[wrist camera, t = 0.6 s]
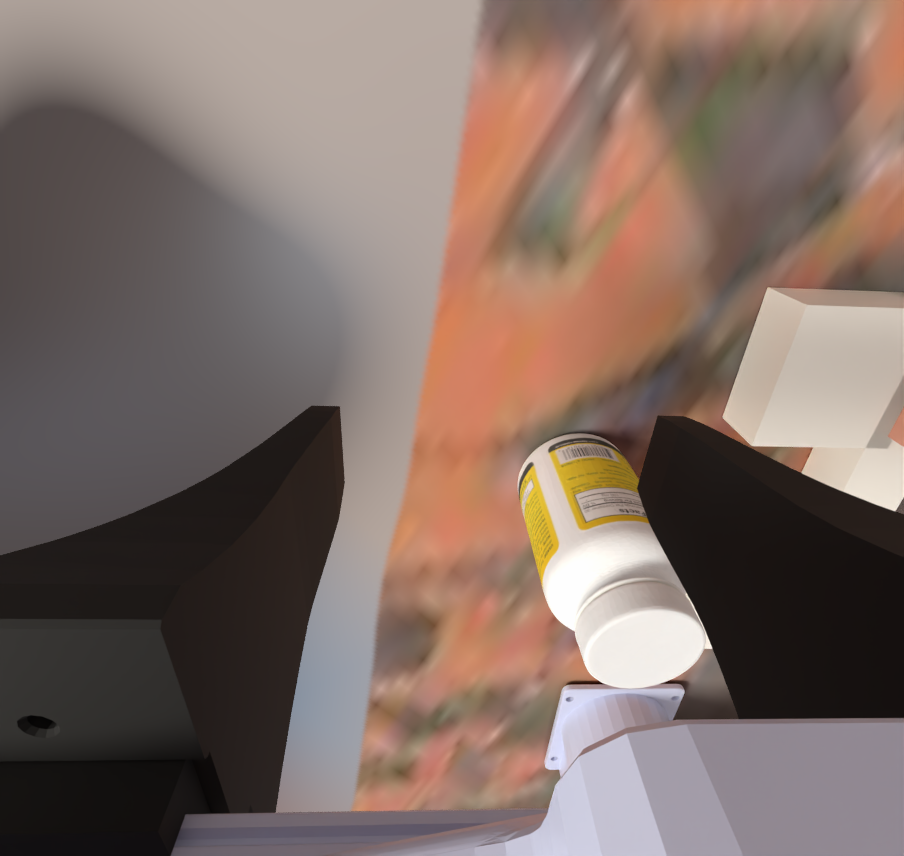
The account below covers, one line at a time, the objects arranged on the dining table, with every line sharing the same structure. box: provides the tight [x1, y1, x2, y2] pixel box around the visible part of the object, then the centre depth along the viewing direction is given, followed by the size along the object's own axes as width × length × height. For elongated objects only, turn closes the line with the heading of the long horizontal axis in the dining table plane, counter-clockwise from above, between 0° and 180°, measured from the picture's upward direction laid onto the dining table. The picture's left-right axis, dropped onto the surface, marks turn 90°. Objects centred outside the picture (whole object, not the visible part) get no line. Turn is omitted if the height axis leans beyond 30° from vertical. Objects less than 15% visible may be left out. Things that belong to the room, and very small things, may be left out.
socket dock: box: [685, 287, 904, 649], centre depth 24 cm, size 19×8×3 cm, turn 177°
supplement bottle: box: [518, 433, 706, 689], centre depth 21 cm, size 5×5×10 cm
